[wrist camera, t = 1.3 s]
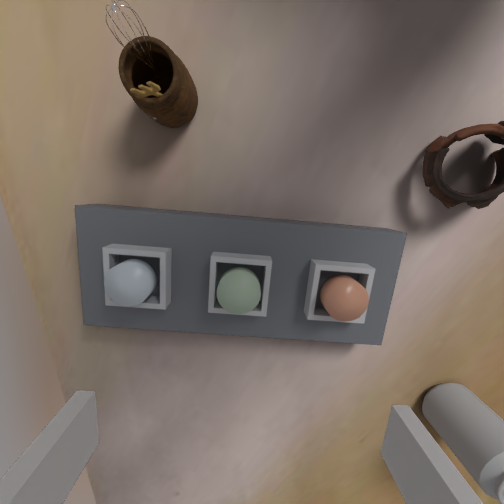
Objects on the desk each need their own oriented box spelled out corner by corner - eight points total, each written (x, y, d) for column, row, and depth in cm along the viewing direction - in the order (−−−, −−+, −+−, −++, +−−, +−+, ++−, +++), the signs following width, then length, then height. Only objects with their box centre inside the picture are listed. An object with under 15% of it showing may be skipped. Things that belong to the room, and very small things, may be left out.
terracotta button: (323, 273, 27) (329, 279, 25) (363, 276, 27) (372, 283, 25) (317, 311, 28) (322, 320, 26) (356, 314, 28) (364, 323, 26)
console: (96, 203, 30) (60, 206, 24) (387, 228, 31) (419, 236, 26) (102, 309, 33) (72, 334, 27) (366, 328, 35) (390, 355, 29)
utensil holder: (186, 60, 27) (139, -41, 15) (208, 121, 28) (180, 70, 17) (136, 81, 27) (53, -3, 16) (160, 139, 29) (100, 103, 17)
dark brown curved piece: (466, 222, 32) (485, 228, 25) (399, 182, 35) (400, 178, 28) (561, 131, 27) (620, 106, 20) (474, 93, 30) (498, 59, 23)
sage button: (220, 265, 26) (217, 271, 24) (261, 268, 26) (262, 274, 24) (217, 304, 27) (215, 312, 25) (257, 306, 27) (258, 315, 25)
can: (467, 415, 38) (563, 512, 27) (418, 423, 39) (492, 523, 27) (467, 374, 37) (570, 459, 25) (416, 383, 37) (495, 471, 25)
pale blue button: (113, 257, 26) (102, 262, 24) (156, 260, 26) (149, 266, 24) (115, 296, 27) (105, 304, 25) (156, 299, 27) (149, 307, 25)
